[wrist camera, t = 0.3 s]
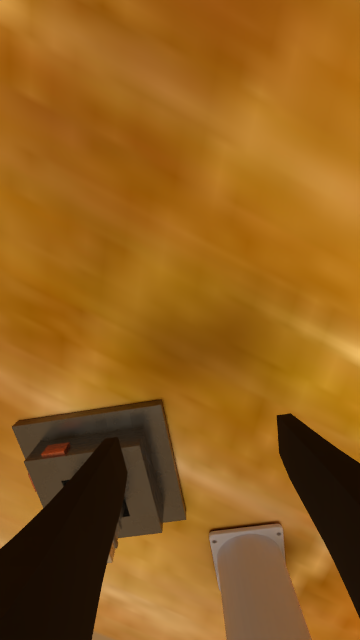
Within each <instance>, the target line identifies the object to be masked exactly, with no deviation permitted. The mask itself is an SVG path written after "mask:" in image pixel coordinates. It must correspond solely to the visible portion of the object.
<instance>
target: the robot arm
mask: <svg viewBox="0 0 360 640" xmlns="http://www.w3.org/2000/svg"><path fill="white" fill-rule="evenodd" d="M277 427H278V442H279V454H280V456H281V459H282V461H283V464H284V466H285V468H286V471H287V473H288V475H289V478H290V480H291V482H292V484H293V485H294V487H295V489H296V491H297V493H298V495H299V497H300V498H301V500H302V502H303V504H304V506H305V508H306V509H307V511H308V513H309V515H310V517H311V519H312V520H313V522H314V524H315V526H316V528H317V530H318V531H319V533H320V535H321V537H322V539H323V541H324V542H325V544H326V546H327V548H328V550H329V552H330V554H331V556H332V558H333V560H334V562H335V565H336V567H337V569H338V571H339V573H340V576H341V578H342V580H343V582H344V584H345V586H346V589H347V591H348V593H349V595H350V597H351V600H352V602H353V604H354V606H355V609H356V611H357V613H358V615H359V618H360V463H359V462H357V461H356V460H354V459H352V458H351V457H349V456H348V455H346V454H345V453H344V452H342V451H341V450H339V449H338V448H336V447H335V446H334V445H332V444H331V443H329V442H328V441H327V440H325V439H324V438H322V437H321V436H320V435H318V434H317V433H316V432H314V431H313V430H312V429H310V428H309V427H308V426H306V425H305V424H304V423H303V422H301V421H300V420H299V419H297V418H296V417H295V416H293V415H292V414H284V415H277ZM127 474H128V472H127V468H126V464H125V461H124V457H123V453H122V450H121V446H120V442H119V439H118V437H113V438H105V439H104V440H103V441H102V443H101V444H100V445H99V446H98V447H97V448H96V450H95V451H94V452H93V453H92V454H91V456H90V457H89V458H88V459H87V460H86V462H85V463H84V464H83V465H82V466H81V467H80V469H79V470H78V471H77V472H76V473H75V474H74V476H73V477H72V478H71V479H70V480H69V481H68V482H67V484H66V485H65V486H64V487H63V488H62V489H61V490H60V491H59V492H58V493H57V494H56V495H55V497H54V498H53V499H52V500H51V501H50V502H49V503H48V504H47V505H46V506H45V507H44V508H43V509H42V510H41V511H40V512H39V513H38V514H37V515H36V516H35V517H34V518H33V519H32V520H31V521H30V522H29V523H28V524H27V525H26V526H25V527H24V528H23V529H22V530H21V531H20V532H19V533H18V534H17V535H15V536H14V537H13V538H12V539H11V540H10V541H9V542H8V543H7V544H5V545H4V546H3V547H2V548H1V549H0V640H92V635H93V629H94V624H95V618H96V613H97V608H98V602H99V597H100V592H101V586H102V582H103V577H104V573H105V569H106V565H107V561H108V557H109V553H110V550H111V546H112V542H113V538H114V535H115V531H116V527H117V523H118V519H119V516H120V512H121V508H122V504H123V500H124V494H125V488H126V481H127ZM209 539H210V544H211V550H212V555H213V560H214V565H215V571H216V576H217V581H218V586H219V590H220V591H221V597H222V605H223V613H224V621H225V630H226V638H227V640H312V639H311V636H310V633H309V631H308V628H307V625H306V622H305V619H304V616H303V613H302V610H301V607H300V605H299V602H298V599H297V596H296V593H295V590H294V587H293V584H292V581H291V578H290V576H289V573H288V570H287V567H286V563H285V549H284V536H283V528H282V526H281V525H280V524H268V525H260V526H252V527H244V528H235V529H227V530H219V531H212V532H210V533H209Z"/></svg>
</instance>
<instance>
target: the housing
mask: <svg viewBox="0 0 360 640" xmlns="http://www.w3.org/2000/svg"><path fill="white" fill-rule="evenodd" d="M12 429H13V431H14V433H15V436H16V438H17V440H18V443H19V445H20V447H21V450H22V452H23V455H24V457H25V459H26V460H25V461H24V463H25V466H26V468H27V470H28V475H29V478H30V480H31V482H32V485H33V487H34V489H35V492H36V491H37V494H38V496H39V498H40V501H41V503H42V505H43V508H44V507H45V506H46V505H47V504H48V503H49V502H50V501H51V500H52V499H53V498H54V497H55V495H56V494H57V493H58V492H59V491H60V490H61V489H62V488H63V487H64V486H65V485H66V484H67V482H68V481H69V480H70V479H71V478H72V477H73V476H74V474H75V473H76V472H77V471H78V470H79V469H80V467H81V466H82V465H83V464H84V463H85V462H86V460H87V459H88V458H89V457H90V456H91V454H92V453H93V452H94V451H95V450H96V448H97V447H98V446H99V445H100V444H101V443H102V441H103V440H104V439H105V438H113V437H118V439H119V442H120V446H121V450H122V453H123V457H124V461H125V464H126V468H127V472H128V474H127V481H126V488H125V494H124V498H125V501H126V504H125V509H124V513H123V518H122V522H121V525H122V529H121V531H119V535H118V538H123V537H131V536H139V535H147V534H156V533H162V528H163V523H164V522H172V521H180V520H186V509H185V505H184V500H183V496H182V491H181V486H180V482H179V477H178V473H177V468H176V463H175V459H174V454H173V450H172V445H171V441H170V436H169V431H168V427H167V422H166V418H165V413H164V408H163V404H162V400H155V401H148V402H141V403H135V404H128V405H121V406H115V407H108V408H101V409H94V410H88V411H81V412H74V413H68V414H61V415H54V416H48V417H41V418H34V419H27V420H21V421H17V422H16V423H15V424H14V425H13V426H12Z"/></svg>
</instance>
